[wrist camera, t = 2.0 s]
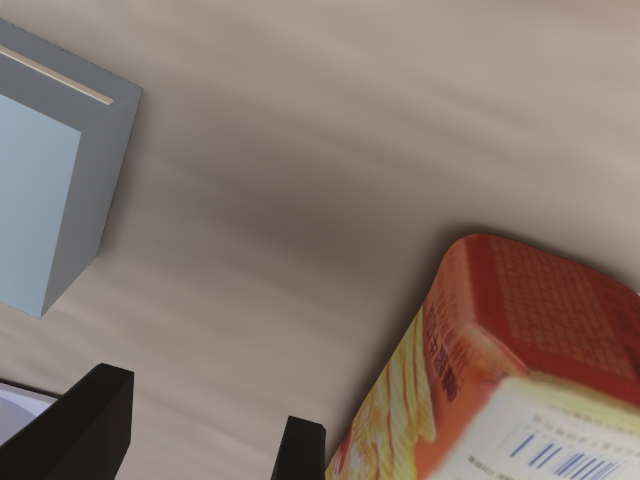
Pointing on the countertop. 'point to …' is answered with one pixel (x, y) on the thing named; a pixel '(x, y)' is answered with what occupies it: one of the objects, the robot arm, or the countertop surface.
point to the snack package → (506, 376)
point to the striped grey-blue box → (55, 164)
